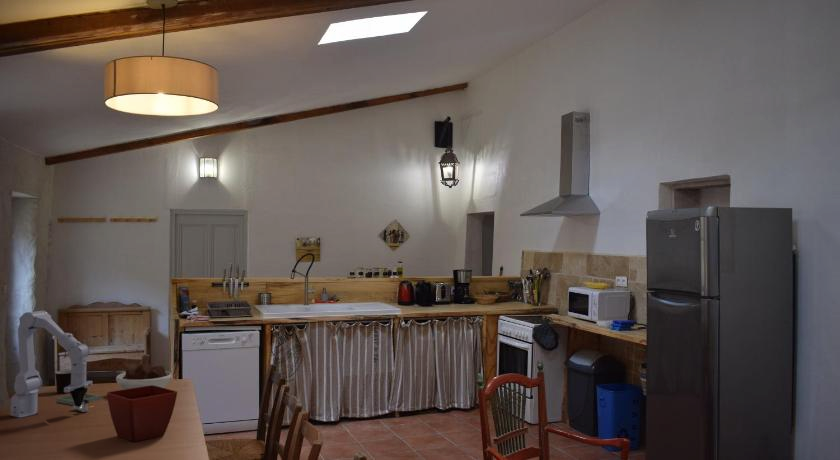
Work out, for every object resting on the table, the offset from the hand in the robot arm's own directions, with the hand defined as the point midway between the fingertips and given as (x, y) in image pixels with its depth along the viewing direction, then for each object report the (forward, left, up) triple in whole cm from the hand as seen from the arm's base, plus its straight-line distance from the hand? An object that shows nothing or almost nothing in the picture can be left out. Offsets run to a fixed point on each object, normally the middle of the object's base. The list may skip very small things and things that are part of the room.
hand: (78, 405), depth 281 cm
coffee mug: (+27, +48, -5) cm, 55 cm away
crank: (+5, +4, -4) cm, 7 cm away
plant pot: (-6, -45, -5) cm, 46 cm away
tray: (+16, +23, -5) cm, 28 cm away
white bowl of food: (+42, +11, -5) cm, 44 cm away
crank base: (+5, +8, -5) cm, 11 cm away
